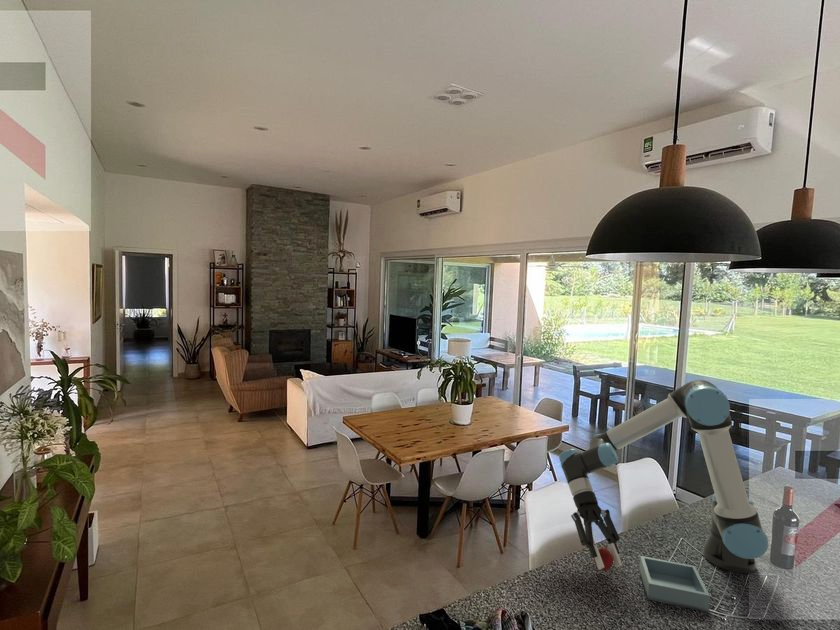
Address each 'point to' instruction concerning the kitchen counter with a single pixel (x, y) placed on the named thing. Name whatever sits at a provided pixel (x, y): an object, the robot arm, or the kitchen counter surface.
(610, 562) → the onion
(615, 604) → the kitchen counter surface
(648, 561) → the bin
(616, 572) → the kitchen counter surface
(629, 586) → the kitchen counter surface
